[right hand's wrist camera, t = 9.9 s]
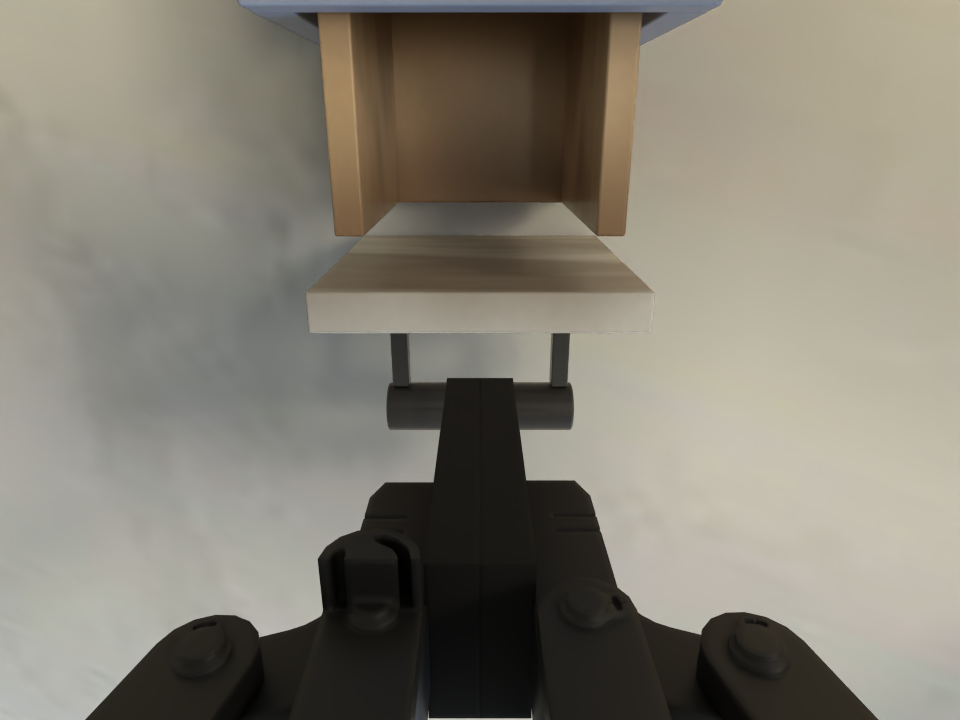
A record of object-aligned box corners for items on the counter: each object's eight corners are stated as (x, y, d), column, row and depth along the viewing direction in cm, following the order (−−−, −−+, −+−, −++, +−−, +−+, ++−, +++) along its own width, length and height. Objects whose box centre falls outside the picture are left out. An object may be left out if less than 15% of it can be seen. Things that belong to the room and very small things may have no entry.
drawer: (587, 380, 29) (635, 496, 20) (373, 380, 29) (324, 496, 20) (624, -222, 21) (730, -478, 12) (335, -222, 21) (228, -478, 12)
